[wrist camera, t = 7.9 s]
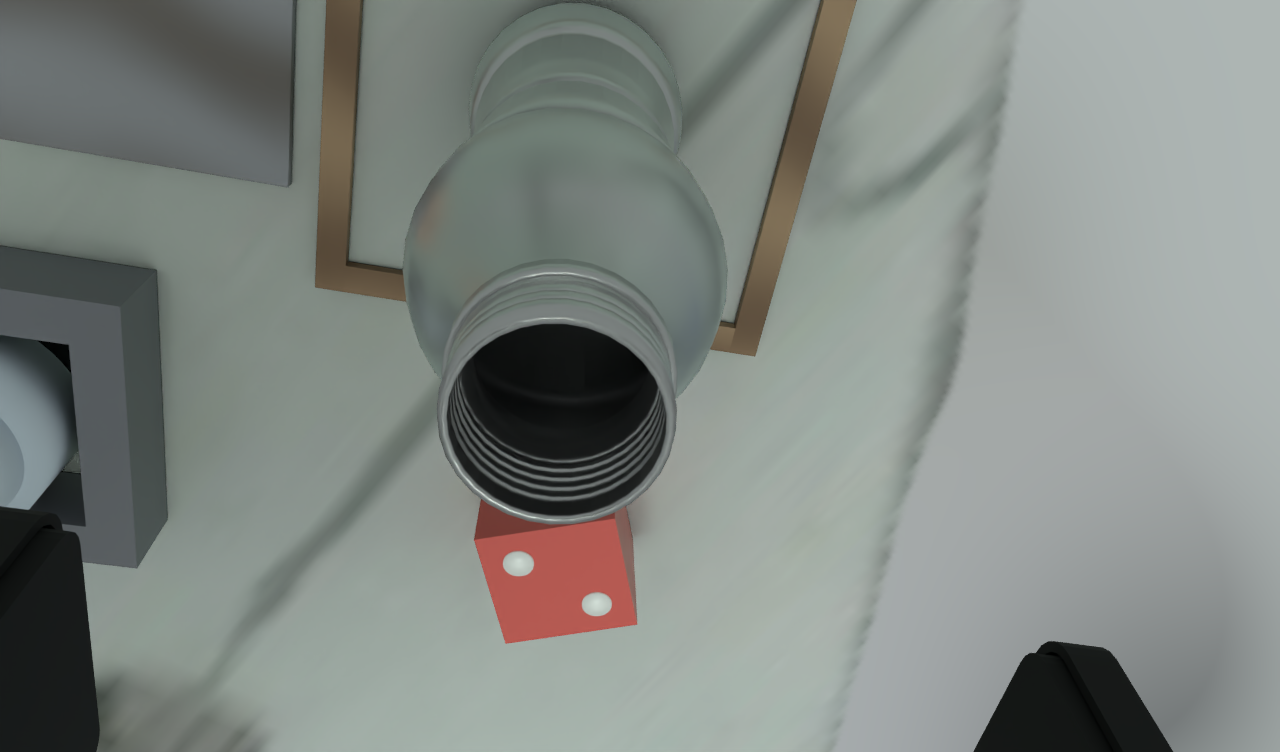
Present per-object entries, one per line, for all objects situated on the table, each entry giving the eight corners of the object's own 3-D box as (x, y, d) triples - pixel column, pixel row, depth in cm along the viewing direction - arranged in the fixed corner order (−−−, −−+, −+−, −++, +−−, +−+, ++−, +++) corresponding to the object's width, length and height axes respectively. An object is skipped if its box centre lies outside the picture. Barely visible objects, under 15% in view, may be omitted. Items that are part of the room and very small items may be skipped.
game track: (753, 351, 37) (755, 356, 36) (-340, 178, 32) (-350, 182, 32) (886, -117, 29) (889, -116, 29) (-519, -434, 24) (-535, -438, 24)
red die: (632, 539, 41) (637, 625, 36) (515, 557, 41) (505, 645, 37) (612, 440, 38) (614, 519, 34) (487, 459, 39) (473, 541, 34)
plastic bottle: (668, -20, 30) (770, 182, 13) (682, 190, 34) (778, 579, 16) (461, 0, 30) (278, 229, 13) (495, 208, 34) (388, 616, 16)
